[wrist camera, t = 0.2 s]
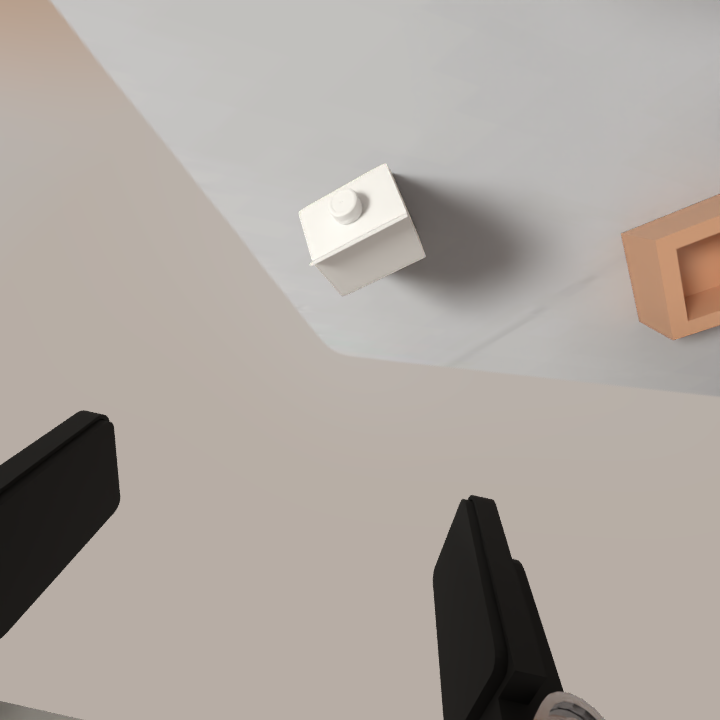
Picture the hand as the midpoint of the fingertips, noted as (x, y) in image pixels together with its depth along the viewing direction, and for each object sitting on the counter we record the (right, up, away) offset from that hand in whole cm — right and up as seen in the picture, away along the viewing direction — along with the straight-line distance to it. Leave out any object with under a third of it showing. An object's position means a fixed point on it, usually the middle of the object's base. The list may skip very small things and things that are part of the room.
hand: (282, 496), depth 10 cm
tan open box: (+36, +14, +31) cm, 49 cm away
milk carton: (+4, +19, +32) cm, 38 cm away
